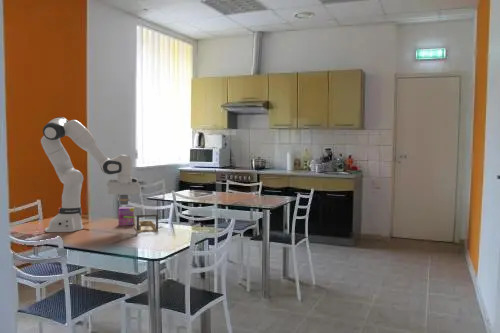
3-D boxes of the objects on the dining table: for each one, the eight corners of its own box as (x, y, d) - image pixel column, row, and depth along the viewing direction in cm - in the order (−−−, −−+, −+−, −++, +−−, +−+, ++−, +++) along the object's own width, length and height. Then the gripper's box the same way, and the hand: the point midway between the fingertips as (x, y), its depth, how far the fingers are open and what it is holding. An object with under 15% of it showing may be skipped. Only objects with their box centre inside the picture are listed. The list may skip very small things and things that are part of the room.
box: (118, 225, 294) (118, 208, 294) (119, 224, 300) (119, 207, 299) (134, 225, 296) (134, 208, 295) (135, 223, 301) (135, 206, 301)
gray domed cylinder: (120, 204, 279) (120, 195, 278) (119, 203, 283) (119, 194, 283) (128, 204, 281) (128, 195, 280) (127, 203, 285) (127, 194, 285)
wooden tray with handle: (136, 232, 273) (136, 215, 272) (133, 227, 288) (133, 211, 287) (158, 231, 278) (158, 214, 277) (154, 226, 293) (154, 210, 292)
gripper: (107, 180, 274) (107, 201, 275) (140, 179, 282) (140, 201, 283) (107, 179, 280) (106, 200, 281) (139, 179, 288) (139, 199, 288)
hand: (124, 200), depth 282 cm, fingers closed on gray domed cylinder, 5 cm apart
